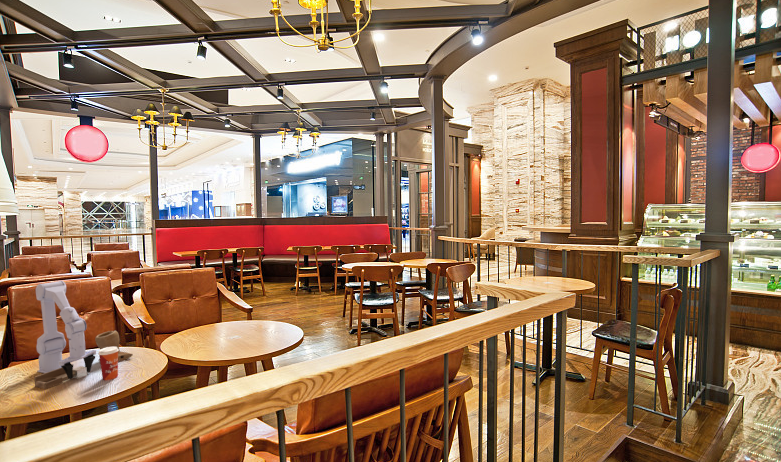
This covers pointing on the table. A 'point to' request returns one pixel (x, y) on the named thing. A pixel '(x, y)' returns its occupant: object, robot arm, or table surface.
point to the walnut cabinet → (51, 378)
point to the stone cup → (111, 343)
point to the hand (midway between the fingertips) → (79, 374)
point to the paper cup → (109, 362)
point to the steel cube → (79, 372)
